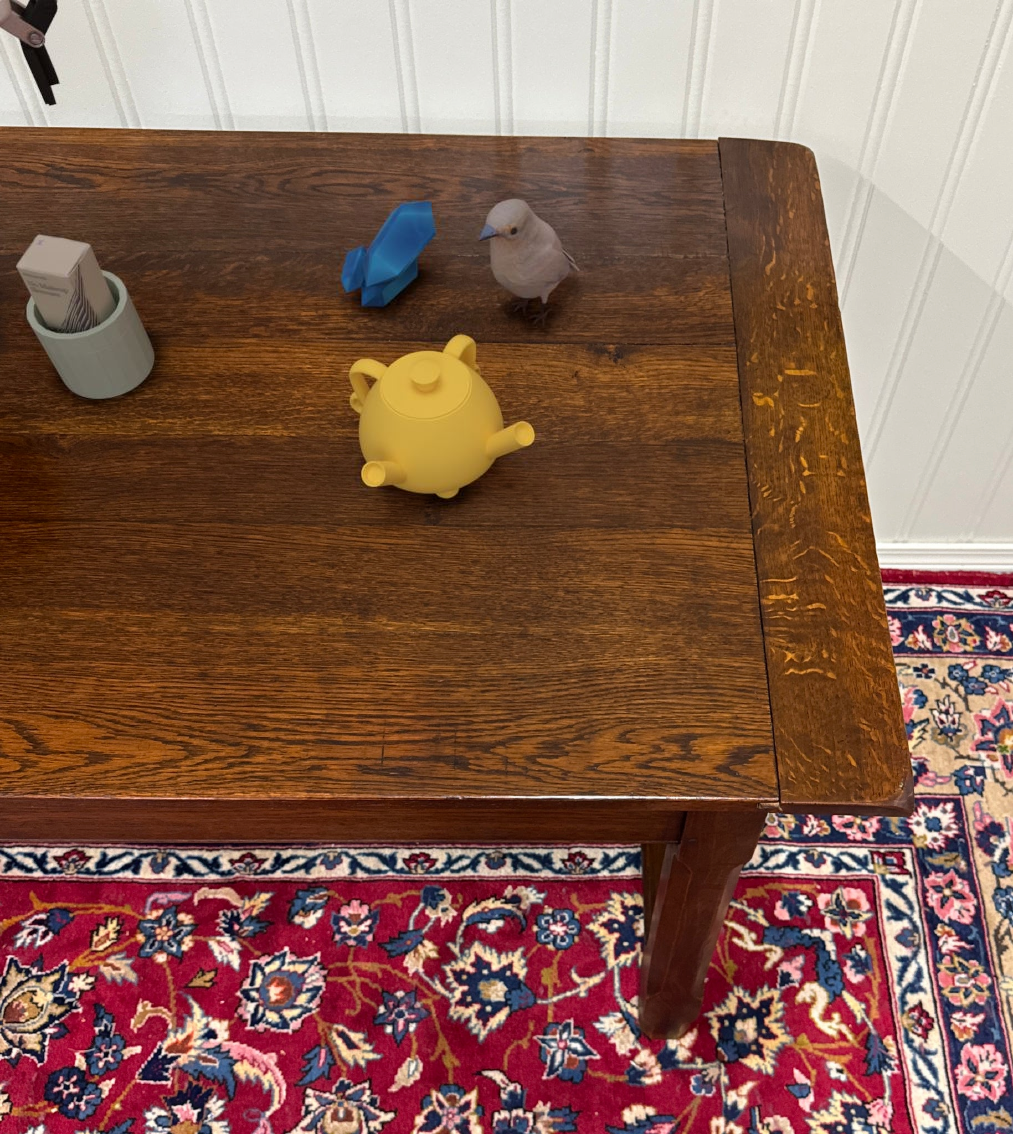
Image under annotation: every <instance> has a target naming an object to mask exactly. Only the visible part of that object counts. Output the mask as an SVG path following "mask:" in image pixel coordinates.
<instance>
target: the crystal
mask: <svg viewBox="0 0 1013 1134" xmlns="http://www.w3.org/2000/svg"><path fill="white" fill-rule="evenodd" d="M384 221H385V222H384V223H383V224H382V226H381V228H380V229H379V230H378V233H377V234H376V236H375V238H374V239H373V241H372V242H371V244H370V245H369V247H368V249H367V248H366V246H365V245H364V244H363V245H361V246H359V247H356V248H355V249H352V250H350V251H348V252H347V253H346V257H345V260H344V265H343V269H342V273H341V276H340V283H341V284H342V287H343V288H344V290H345V292H346V294H349V293H351V292H354V291H355V290H357V289H358V290H359V289H361V307H385V306H387V305H388V303H390V302H392V300H393V299H394V298H395V297H396V296H398V294H400V293H401V292H402V291H403V290H404V289H405V288H406V287H408V285H409V284H411V283H412V281H414V280H415V279H416V278H417V277H418V271H419V269H418V267H419V266H418V265H419V262H418V261H419V255H420V254H421V253H422V252H423V251H424V249H425V248H426V247H427V246H428V245H429V243H430V242H431V241H432V240H433V239H434V238H435V237H436V236H437V232H436V225H435V219H434V215H433V208H432V203H431V200H422V201H413V202H402V203H401V204H400V205H398V206H397V207H396V208H395V209H394V210H393V211H391V212H390V213H389V215H388V217H387V218H386V220H384Z"/></svg>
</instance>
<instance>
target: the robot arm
mask: <svg viewBox="0 0 1013 1134" xmlns="http://www.w3.org/2000/svg"><path fill="white" fill-rule="evenodd" d="M58 7H59V6H58V0H28V2H27V4H26V5H25V4H24V3H22V2H21V1H19V0H0V29H2V30H4V31H5V32H7V33H8V34H10V35H12V36H13V37H15V38H16V39H18V40H19V41H18V42H19V44H20V47H21V51H22V54H23V57H24V59H25V62H26V63H27V66H28V68H29V71H30V73H31V74H32V77H33V80H34V82H35V85H36V86H37V89H38V90H39V93H40V95H41V98H42V100H43V102H44V104H45V105H48V106H49V107H50V106H55V105H57V100H56V97H55V94H54V91H53V88H52V86H55V85H60V84H61V83H60V79H59V76H58V73H57V71H56V69H55V66H54V63H53V61H52V59H51V57H50V54H49V52H48V49H47V47H46V45H45V43H46V36H47V35H46V34H47V33H48V30H49V28H50V26H51V25H52V23H53V21H54V19H55V17H56V15H57V12H58V9H59V8H58Z"/></svg>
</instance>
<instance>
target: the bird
mask: <svg viewBox="0 0 1013 1134" xmlns="http://www.w3.org/2000/svg"><path fill="white" fill-rule="evenodd" d="M486 240H489V252H490V256H489V257H490V270H491V272H492V274H493V276H494V279H495V280H496V281H497V282H498V284H499V285H500V286H502V287H503V288H504V289H505V290H507V291H509V292H510V293H511V294H514V295H515V296H517V297H520V298H521V300H520V301H514V302H513V303H510V305H509V306H508V307H509V308H510V307H512V306H516V307H515V309H514V310H513V313H516V311H517V310H519V309H520V308H522V312H523V315H524V316H526V311H527V307H528V303H529V301H530V300H531V299H534V298H538V297H540V298H541V301H542V302H541V306H540V313H538V314H537V313H536V314H533V315H531V316H529V317H528V318H527V319H528V320H529V319H533V318H535V319H534V320H533V323H532V326H533V325H535V324H536V323H537V322H539V321H541V324H542V328H543V329H544V328H545V324H546V323H545V321H546V318H547V315H548V314H549V313H550V311H553V308H548V309H547V310H545V306H546V303H547V302H548V298H549V295H550V293H551V292H552V291H554V290H555V289H556V288H557V287H558V285H559V284H560V282H562V281H563V280H564V279H565V278H567V276H568V275H569V273H570V272H571V273H575V270H576V271H577V272H581V270H580V268H579V267H578V265H577V264H576V263H577V262H576V261H575V259H574V257H572V256H571V253H570V252H569V251H568V250H567V249H566V248H565V247H564V246H563V245H562V241H561V239H560V238H559V237H558V235H557V233H556V231H555V229H554V228H553V227H552V226H551V225H549V224H548V223H547V222H545V221H544V220H542V219H541V218H540V217H538V215H536V214H535V213H534V211H533V210H532V209H531V207H530V206H529V204H528V203H527V202H526V201H525V200H523V199H520V198H511V199H507V200H502V201H500V202H499V203H497V204H496V205H494V206H493V207H492V209H491V210H490V211H489V212H488V214H487V216H486V219H485V224H484V226H483V229H482V230H481V233H480V235H479V236H478V239H477V243H479V242H480V243H481V242H484V241H486ZM574 269H575V270H574Z"/></svg>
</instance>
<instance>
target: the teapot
mask: <svg viewBox="0 0 1013 1134" xmlns="http://www.w3.org/2000/svg"><path fill="white" fill-rule="evenodd" d="M476 360H477V344H476V341H475V340H474V339H473V338H472V337H470V336H468V335H466V334H457V335H455V336H453V337H452V338H451V339H450V340H449V341H448V342H447V343H446V345H445V347H444V349H443V350H442V352H441V351H436V350H422V351H421V350H420V351H415V352H411V353H408V354H405V355H403V356H402V357H399V358H397V359H395V361H393V362H392V363H391V364H390V365H389V366H387V365H386V364H383V363H382V362H380V361H377V360H375V359H372V358H361V359H358V360H356V361H355V362H354V363H353V364H352V366H351V367H350V369H349V372H348V377H349V378H348V379H349V382H350V386H351V388H352V389H353V392H352V393H351V394H350V397H349V405H350V407H351V408H352V409H353V410H354V411H355V412H356V413H358V414H359V415H360V416H359V423H358V440H359V446H360V451H361V453H362V456H363V459H364V460H365V462H366V463H365V464H364V465H363V467H362V469H361V472H360V473H361V475H360V476H361V479H362V482H363V483H364V484H365V485H366V486H368V487H372V488H374V487H376V488H377V487H385V486H394V487H396V488H398V489H401V490H403V491H407V492H412V493H418V494H435V495H436V496H438V497H439V498H443V499H450V498H453V497H455V496H456V495H457V494H458V493H459V490H460V489H461V488H463V487H465V486H467V485H470V484H471V483H473V482H474V481H476V480H478V479H479V478H480V477H481V476H483V475H484V474H485V473H486V472H487V471H488V470H489V469H490V468H491V466H492V465H493V464H494V462H495V461H496V459H497V458H499V457H502V456H505V455H507V454H510V453H513V452H515V451H518V450H521V449H522V448H525V447H528V446H530V445H532V444H533V443H534V441H535V436H536V435H535V430H534V427H532V425H531V424H530V423H529V422H527V421H523V420H522V421H518V422H516V423H514V424H511V425H509V426H508V427H505V426H504V419H503V414H502V411H501V407H500V405H499V402H498V400H497V398H496V396H495V394H494V392H493V391H492V389H491V387H490V386H489V385H488V383H487V382H486V381H485V380H484V379H483V378H482V376H481V375H482V371H481V367H480V366H479V364H477V363H476V362H477V361H476ZM363 374H364V375H367V376H369V377H372V378H374V379H375V381H374V383H373V385H372V386H371V388H370V386H369V385H368V383H367V380H365V379H366V378H365V376H364V375H363Z"/></svg>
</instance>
